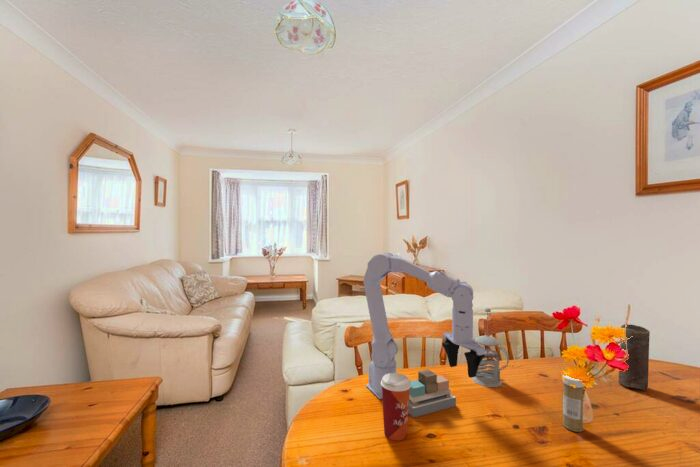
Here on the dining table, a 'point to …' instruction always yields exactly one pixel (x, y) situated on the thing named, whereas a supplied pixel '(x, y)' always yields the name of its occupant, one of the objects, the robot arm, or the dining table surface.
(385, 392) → the paper cup
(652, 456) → the dining table surface
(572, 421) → the sprinkles bottle
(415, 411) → the dock
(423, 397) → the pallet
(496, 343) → the french press
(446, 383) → the block
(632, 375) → the candle
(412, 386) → the block
